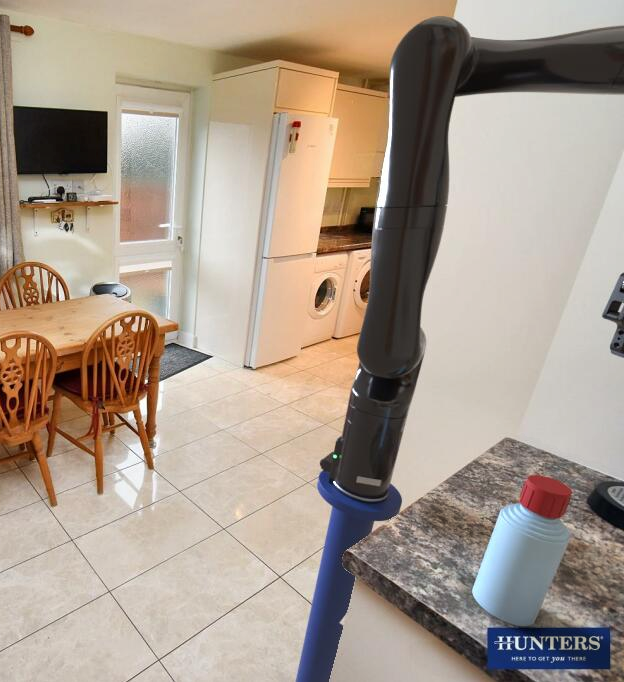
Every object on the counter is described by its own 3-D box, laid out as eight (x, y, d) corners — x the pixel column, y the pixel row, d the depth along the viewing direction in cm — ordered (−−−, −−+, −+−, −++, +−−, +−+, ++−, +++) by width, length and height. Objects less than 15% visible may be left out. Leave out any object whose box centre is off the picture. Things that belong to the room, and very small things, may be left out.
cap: (530, 494, 56) (538, 471, 55) (569, 513, 53) (579, 490, 52) (512, 501, 55) (520, 478, 54) (551, 522, 51) (561, 498, 50)
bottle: (500, 627, 55) (547, 508, 50) (460, 584, 61) (498, 473, 56) (549, 626, 56) (602, 507, 50) (504, 583, 62) (547, 473, 56)
